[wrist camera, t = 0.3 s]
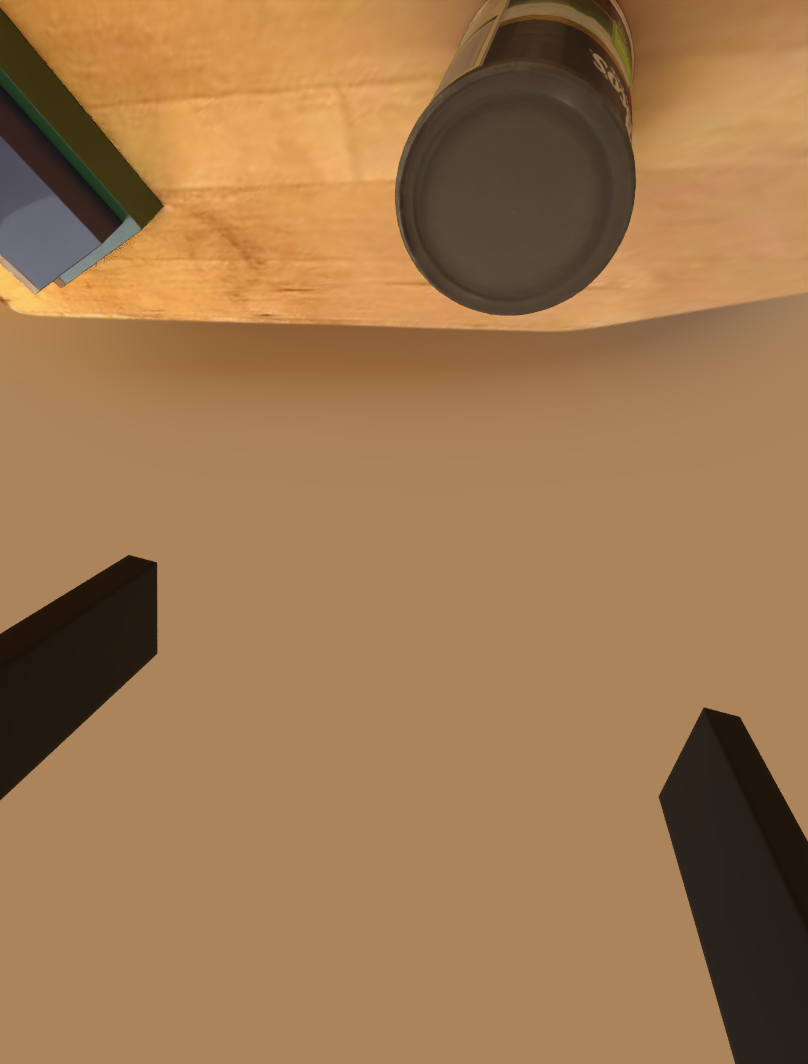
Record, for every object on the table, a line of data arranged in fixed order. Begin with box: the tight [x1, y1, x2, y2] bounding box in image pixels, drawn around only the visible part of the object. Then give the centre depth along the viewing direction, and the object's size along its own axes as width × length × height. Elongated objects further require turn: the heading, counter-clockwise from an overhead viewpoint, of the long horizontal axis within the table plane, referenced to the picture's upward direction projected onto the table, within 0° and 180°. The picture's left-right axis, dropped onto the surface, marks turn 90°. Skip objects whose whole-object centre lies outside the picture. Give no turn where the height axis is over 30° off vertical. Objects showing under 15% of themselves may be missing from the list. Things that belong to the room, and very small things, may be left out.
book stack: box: [0, 9, 163, 294], centre depth 39 cm, size 16×12×7 cm
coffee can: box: [395, 0, 636, 316], centre depth 28 cm, size 10×10×14 cm
